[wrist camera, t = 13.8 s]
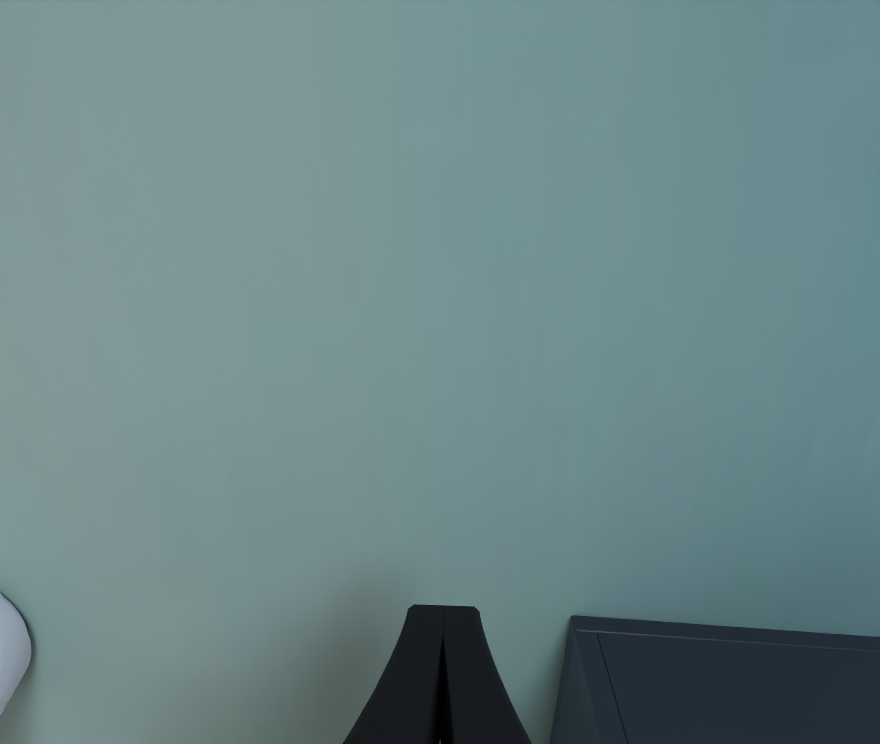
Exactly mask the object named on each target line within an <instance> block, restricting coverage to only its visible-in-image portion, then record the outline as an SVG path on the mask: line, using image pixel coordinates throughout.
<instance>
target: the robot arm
mask: <svg viewBox="0 0 880 744" xmlns="http://www.w3.org/2000/svg"><path fill="white" fill-rule="evenodd" d="M440 741H441V744H532V743H531V741H530V739H529V737H528V735H527V733H526V731H525V729H524V727H523V726H522V724H521V722H520V720H519V718H518V716H517V714H516V712H515V709H514V707H513V705H512V703H511V701H510V699H509V696H508V694H507V692H506V690H505V687H504V685H503V683H502V680H501V678H500V676H499V673H498V671H497V668H496V666H495V663H494V661H493V658H492V655H491V652H490V650H489V647H488V644H487V641H486V637H485V634H484V631H483V627H482V623H481V618H480V612H479V611H478V610H477V609H476V608H475V607H471V606H443V605H415V604H414V605H413V606H411V607H410V608H409V609H408V612H407V616H406V620H405V623H404V626H403V629H402V631H401V634H400V637H399V639H398V642H397V644H396V646H395V648H394V651H393V653H392V655H391V658H390V660H389V662H388V664H387V666H386V668H385V670H384V672H383V674H382V676H381V678H380V680H379V682H378V684H377V686H376V688H375V690H374V692H373V693H372V695H371V697H370V699H369V700H368V702H367V704H366V706H365V707H364V709H363V711H362V713H361V714H360V716H359V718H358V719H357V721H356V723H355V725H354V726H353V728H352V730H351V731H350V733H349V734H348V736H347V737H346V739H345V741H344V742H343V744H439V743H440Z"/></svg>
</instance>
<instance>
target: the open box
mask: <svg viewBox="0 0 880 744" xmlns="http://www.w3.org/2000/svg"><path fill="white" fill-rule="evenodd" d="M550 744H880V637H866V636H852V635H838V634H824V633H810V632H796V631H782V630H768V629H754V628H740V627H726V626H712V625H698V624H684V623H670V622H656V621H642V620H628V619H614V618H600V617H586V616H572V618H571V623H570V629H569V635H568V641H567V646H566V652H565V658H564V664H563V670H562V675H561V681H560V687H559V693H558V699H557V704H556V710H555V716H554V722H553V727H552V733H551V739H550Z"/></svg>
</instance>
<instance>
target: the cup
mask: <svg viewBox="0 0 880 744" xmlns="http://www.w3.org/2000/svg"><path fill="white" fill-rule="evenodd" d="M30 658H31V641H30V638H29V635H28V632H27V628H26V625H25V623H24V621H23V619H22V617H21V616H20V614H19V612H18V611H17V610H16V608H15V607H14V606H13V605H12V604H11V602H10V601H8V600H7V599H6V598H5V597H4V596H3V595H2V594H0V715H1V713H2V712H3V710H4V708H5V706H6V705H7V703H8V701H9V700H10V698H11V696H12V694H13V693H14V691H15V689H16V687H17V686H18V684H19V682H20V681H21V679H22V677H23V675H24V674H25V672H26V670H27V668H28V666H29V663H30Z"/></svg>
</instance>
